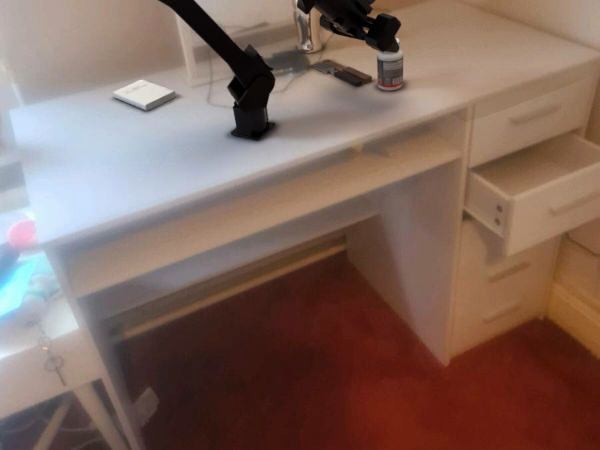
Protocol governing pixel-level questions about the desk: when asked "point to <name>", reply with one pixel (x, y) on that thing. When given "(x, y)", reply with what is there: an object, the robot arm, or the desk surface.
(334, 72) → the black-handled fork
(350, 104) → the desk surface
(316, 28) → the beer glass
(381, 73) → the pill bottle
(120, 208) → the desk surface
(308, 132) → the desk surface
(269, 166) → the desk surface
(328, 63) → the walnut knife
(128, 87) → the hard drive
